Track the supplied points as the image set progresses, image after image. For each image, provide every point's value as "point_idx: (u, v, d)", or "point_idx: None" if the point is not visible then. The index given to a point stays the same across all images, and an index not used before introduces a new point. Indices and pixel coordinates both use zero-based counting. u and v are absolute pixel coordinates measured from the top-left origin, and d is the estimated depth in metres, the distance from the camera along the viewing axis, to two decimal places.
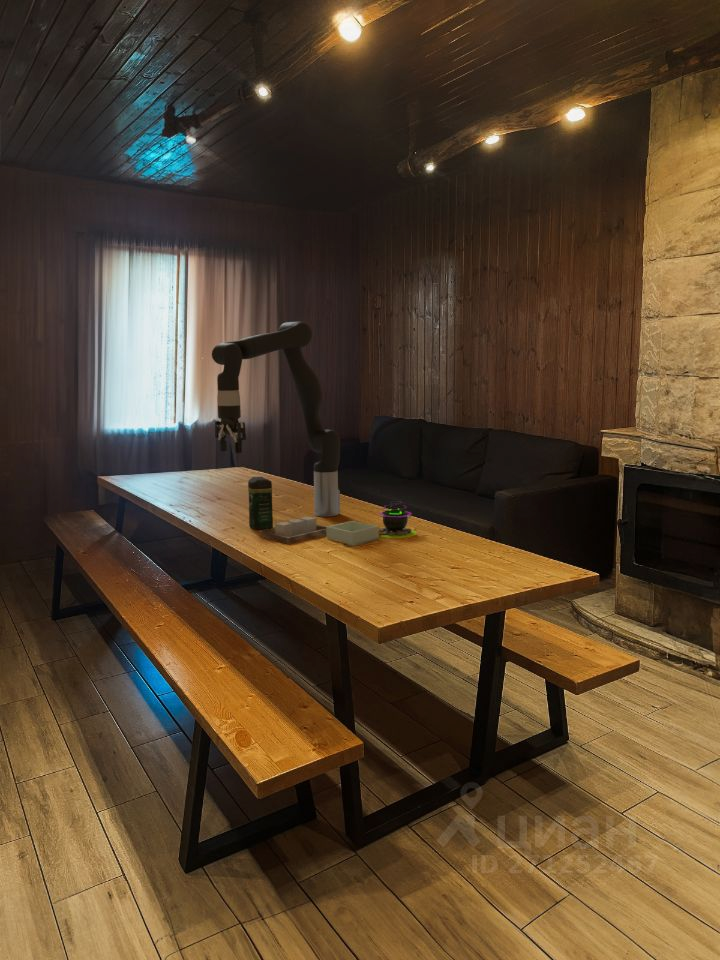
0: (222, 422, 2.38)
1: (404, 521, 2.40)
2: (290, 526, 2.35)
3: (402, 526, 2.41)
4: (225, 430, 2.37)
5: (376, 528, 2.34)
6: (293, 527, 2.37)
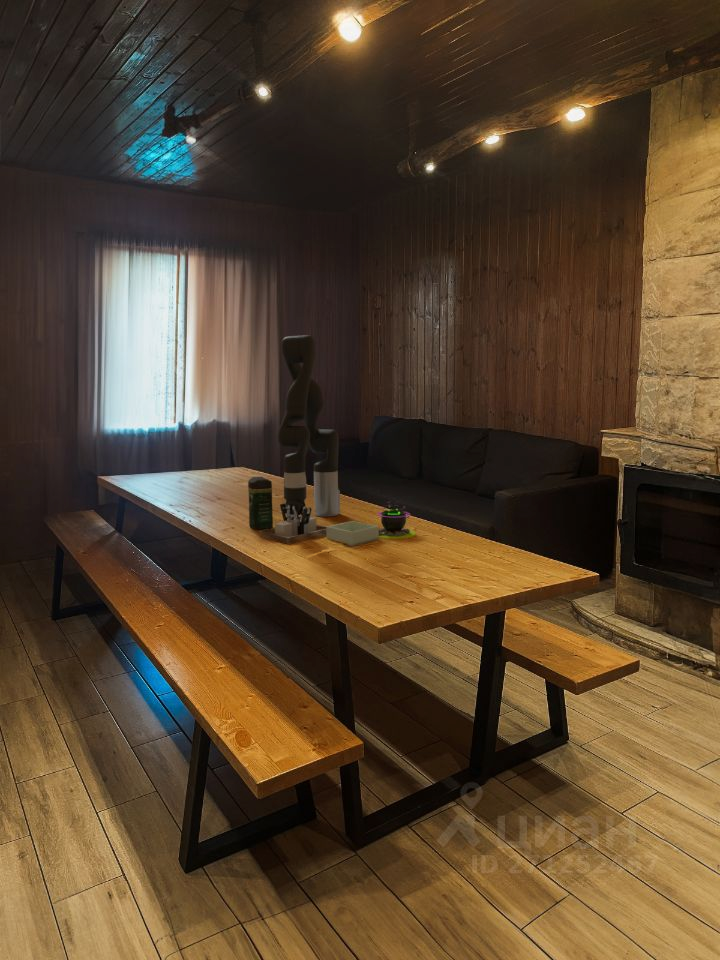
0: (287, 502, 2.39)
1: (402, 521, 2.40)
2: (290, 526, 2.35)
3: (400, 526, 2.40)
4: (292, 510, 2.38)
5: (376, 528, 2.34)
6: (293, 527, 2.37)
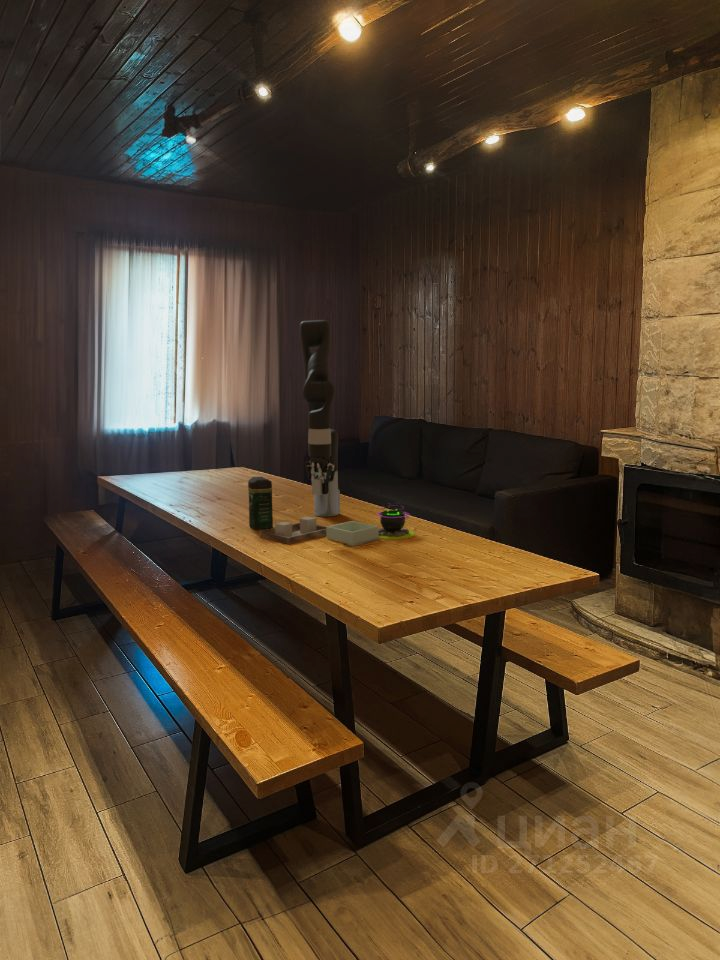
0: (312, 459, 2.35)
1: (402, 522, 2.39)
2: (290, 526, 2.35)
3: (400, 527, 2.40)
4: (316, 468, 2.34)
5: (376, 528, 2.34)
6: (317, 485, 2.33)
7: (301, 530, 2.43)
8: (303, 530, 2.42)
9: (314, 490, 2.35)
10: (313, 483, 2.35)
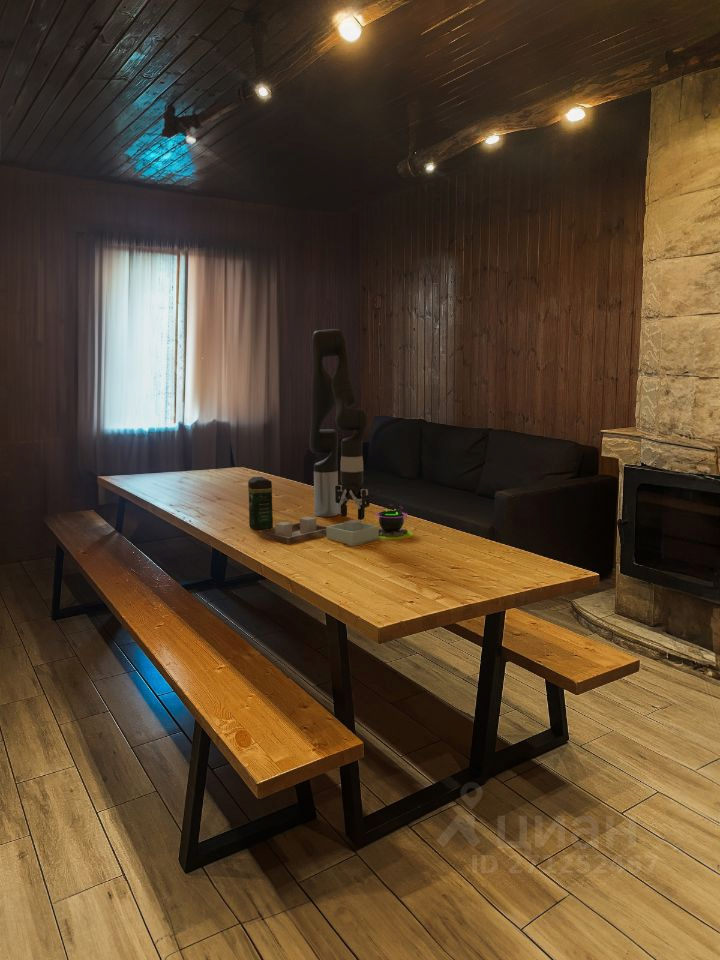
0: (344, 487, 2.36)
1: (400, 522, 2.39)
2: (290, 526, 2.35)
3: (398, 527, 2.39)
4: (347, 495, 2.35)
5: (376, 528, 2.34)
6: (350, 528, 2.35)
7: (301, 530, 2.43)
8: (303, 530, 2.42)
9: None
10: (345, 526, 2.36)
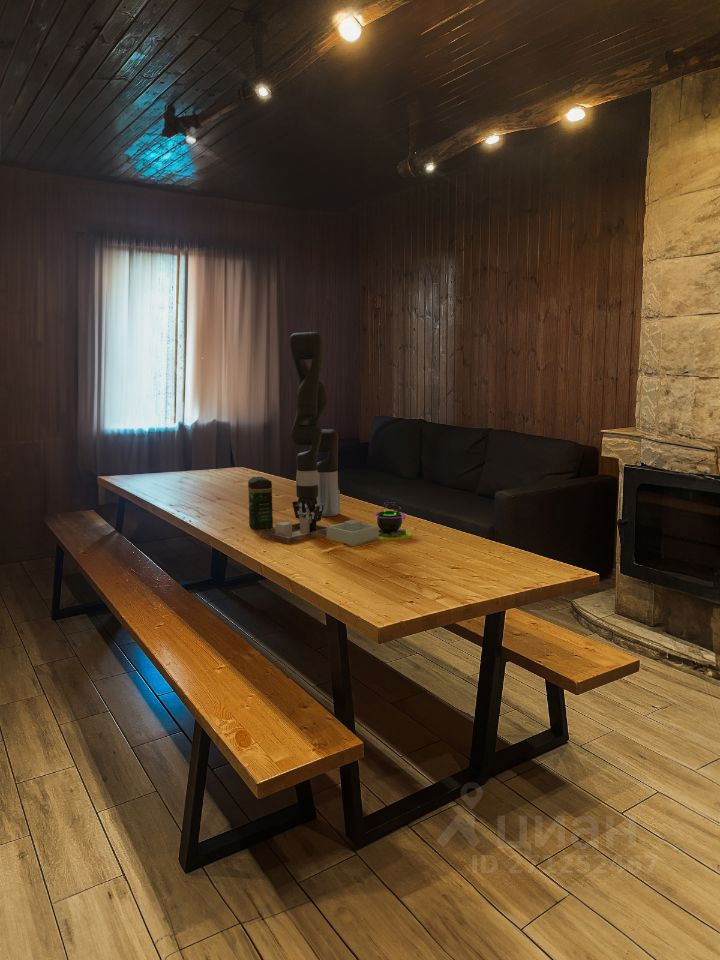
0: (299, 500, 2.43)
1: (398, 522, 2.38)
2: (290, 526, 2.35)
3: (396, 527, 2.39)
4: (304, 508, 2.41)
5: (376, 528, 2.34)
6: (350, 528, 2.35)
7: (301, 530, 2.43)
8: (303, 530, 2.42)
9: None
10: (345, 526, 2.36)
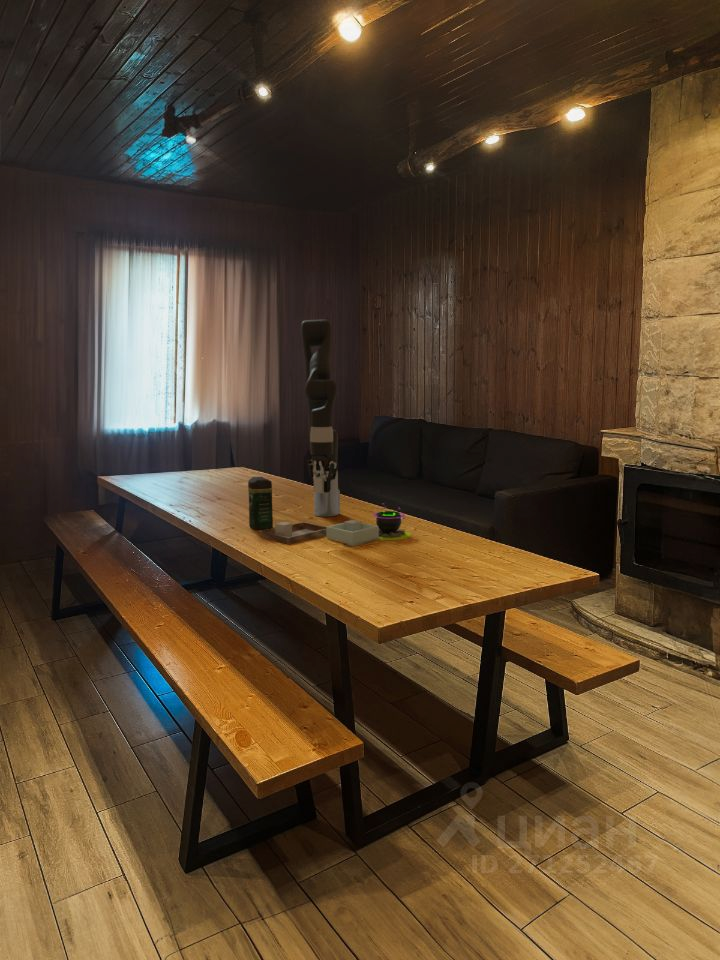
0: (314, 458, 2.35)
1: (398, 523, 2.38)
2: (290, 526, 2.35)
3: (396, 528, 2.38)
4: (318, 466, 2.34)
5: (376, 528, 2.34)
6: (350, 528, 2.35)
7: (315, 489, 2.35)
8: (317, 489, 2.34)
9: None
10: (345, 526, 2.36)
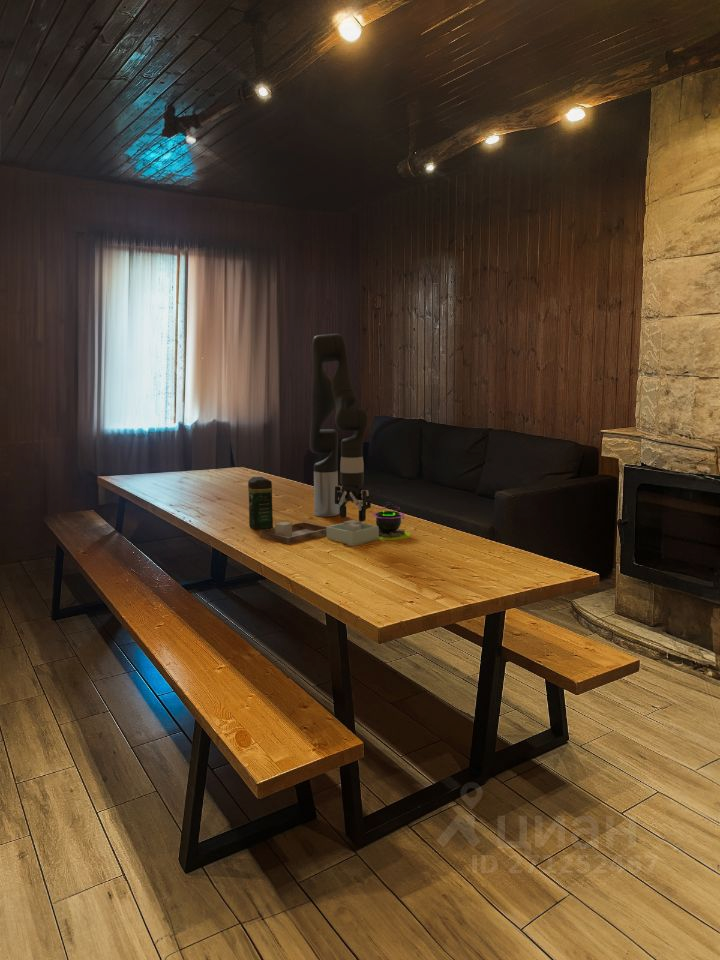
0: (344, 488, 2.30)
1: (397, 522, 2.38)
2: (290, 526, 2.35)
3: (395, 527, 2.38)
4: (347, 497, 2.30)
5: (376, 528, 2.34)
6: None
7: None
8: None
9: None
10: None
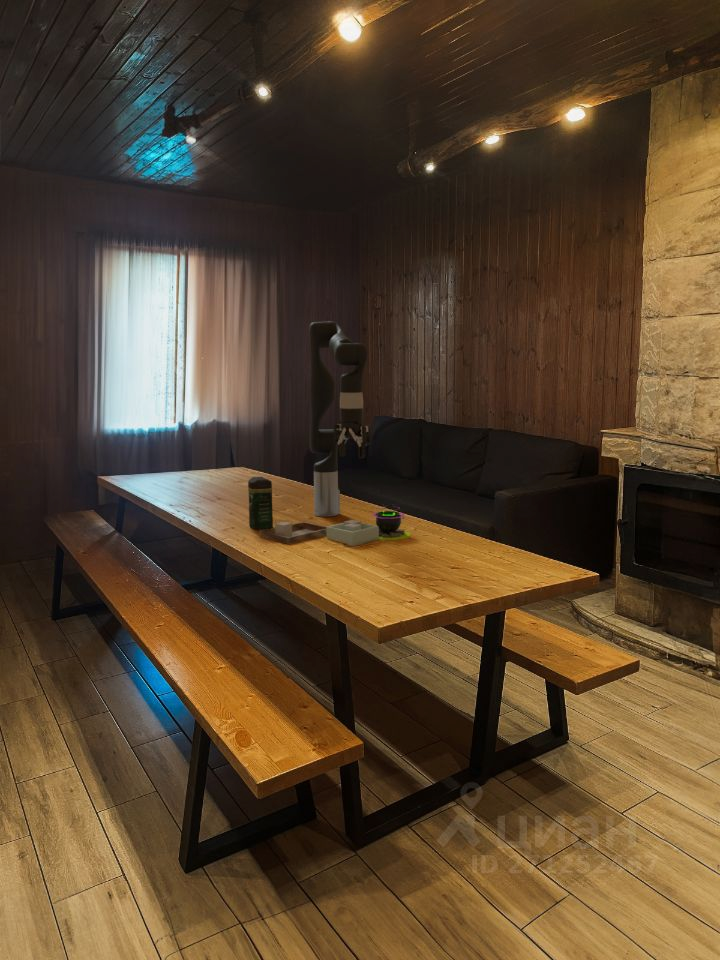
0: (343, 426, 2.27)
1: (397, 522, 2.38)
2: (290, 526, 2.35)
3: (395, 527, 2.38)
4: (347, 434, 2.26)
5: (376, 528, 2.34)
6: None
7: None
8: None
9: None
10: None
